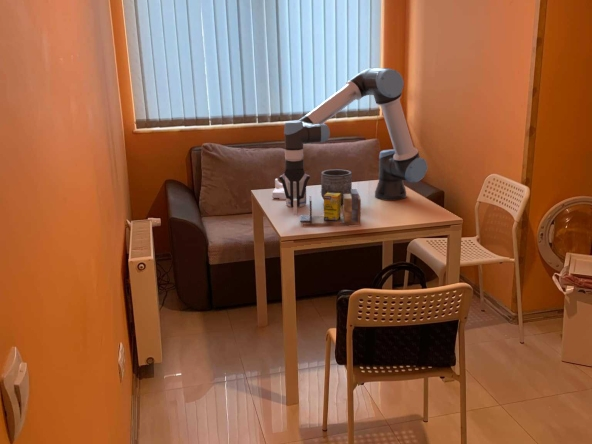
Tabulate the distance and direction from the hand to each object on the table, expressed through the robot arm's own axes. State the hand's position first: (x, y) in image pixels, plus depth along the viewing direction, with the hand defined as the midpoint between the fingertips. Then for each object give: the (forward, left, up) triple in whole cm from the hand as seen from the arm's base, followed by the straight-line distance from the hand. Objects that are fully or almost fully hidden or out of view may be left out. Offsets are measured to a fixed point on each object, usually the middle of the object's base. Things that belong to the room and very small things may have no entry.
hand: (295, 214), depth 249 cm
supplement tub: (0, -28, -4) cm, 28 cm away
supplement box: (-16, 0, -3) cm, 16 cm away
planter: (-19, -30, -4) cm, 36 cm away
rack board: (-15, 0, -4) cm, 15 cm away
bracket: (+8, -46, -4) cm, 47 cm away
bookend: (-5, 0, -2) cm, 5 cm away
